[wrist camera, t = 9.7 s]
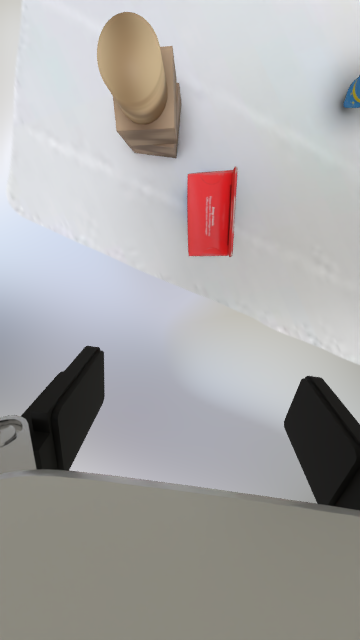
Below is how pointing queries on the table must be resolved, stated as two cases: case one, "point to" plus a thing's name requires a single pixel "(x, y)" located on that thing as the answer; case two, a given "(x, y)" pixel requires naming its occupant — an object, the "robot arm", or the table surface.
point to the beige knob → (133, 67)
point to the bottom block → (162, 149)
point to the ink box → (211, 212)
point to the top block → (165, 124)
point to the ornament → (353, 95)
